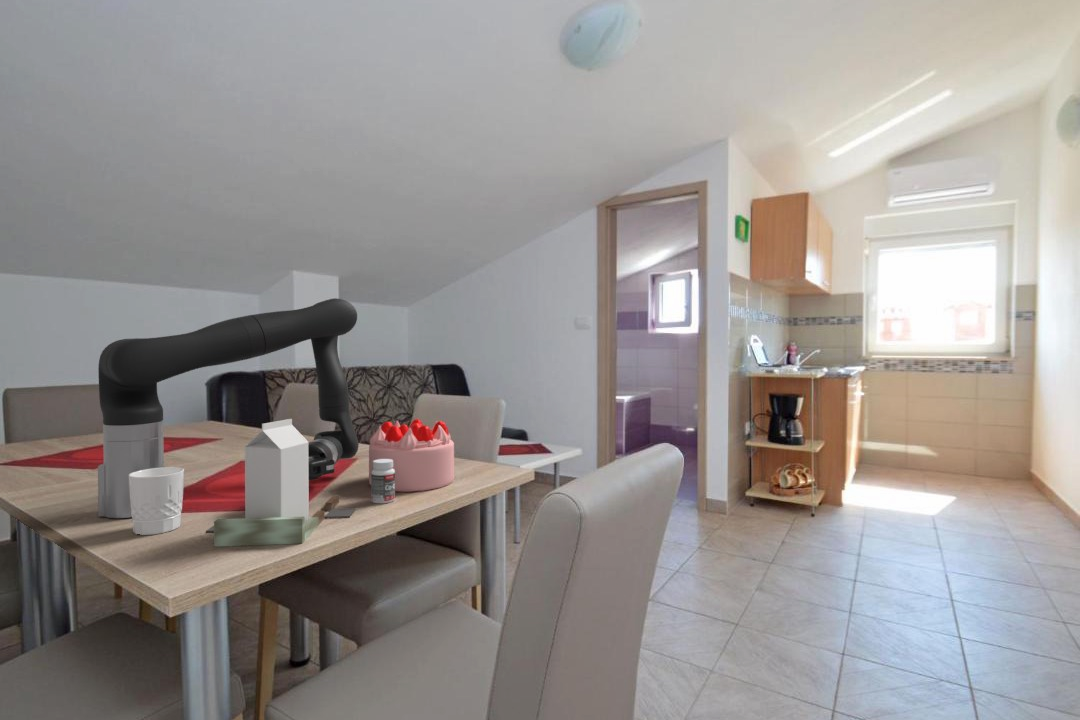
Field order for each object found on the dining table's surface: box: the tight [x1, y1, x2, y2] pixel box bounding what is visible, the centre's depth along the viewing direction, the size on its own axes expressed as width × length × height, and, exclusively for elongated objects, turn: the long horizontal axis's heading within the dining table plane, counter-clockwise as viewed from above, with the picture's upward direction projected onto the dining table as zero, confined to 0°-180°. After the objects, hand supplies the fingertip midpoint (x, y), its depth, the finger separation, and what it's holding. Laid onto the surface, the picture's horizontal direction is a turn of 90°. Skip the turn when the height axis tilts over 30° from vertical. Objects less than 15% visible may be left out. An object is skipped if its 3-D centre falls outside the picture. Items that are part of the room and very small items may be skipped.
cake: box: [368, 418, 455, 493], centre depth 129 cm, size 20×20×14 cm
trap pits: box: [205, 507, 356, 534], centre depth 99 cm, size 25×6×1 cm, turn 115°
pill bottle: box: [370, 459, 396, 504], centre depth 112 cm, size 5×5×8 cm
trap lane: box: [213, 494, 340, 547], centre depth 98 cm, size 13×24×4 cm, turn 7°
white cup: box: [128, 466, 185, 536], centre depth 94 cm, size 8×8×10 cm
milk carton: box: [244, 418, 310, 523], centre depth 93 cm, size 7×7×19 cm
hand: (287, 477), depth 100 cm, fingers closed
